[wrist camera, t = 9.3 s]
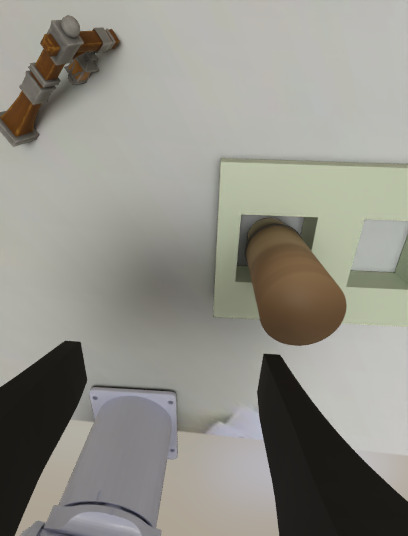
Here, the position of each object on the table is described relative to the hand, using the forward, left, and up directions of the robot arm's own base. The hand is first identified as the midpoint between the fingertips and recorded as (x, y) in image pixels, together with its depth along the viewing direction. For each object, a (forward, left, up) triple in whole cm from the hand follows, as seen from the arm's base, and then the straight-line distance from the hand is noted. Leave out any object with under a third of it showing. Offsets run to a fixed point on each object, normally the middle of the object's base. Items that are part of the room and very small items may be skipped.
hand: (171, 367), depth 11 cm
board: (+2, -9, -10) cm, 14 cm away
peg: (+2, -5, -10) cm, 12 cm away
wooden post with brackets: (+11, +8, -11) cm, 17 cm away
